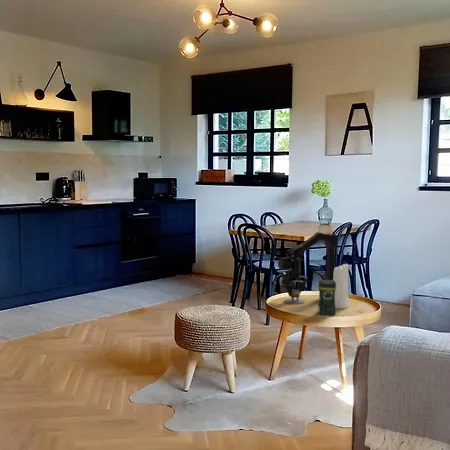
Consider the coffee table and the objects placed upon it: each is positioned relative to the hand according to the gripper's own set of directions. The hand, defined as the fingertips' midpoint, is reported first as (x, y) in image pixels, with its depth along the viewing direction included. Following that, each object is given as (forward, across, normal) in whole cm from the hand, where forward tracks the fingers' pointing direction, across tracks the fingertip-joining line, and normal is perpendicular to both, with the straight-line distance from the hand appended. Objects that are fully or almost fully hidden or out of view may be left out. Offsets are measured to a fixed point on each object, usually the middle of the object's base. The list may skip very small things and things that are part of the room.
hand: (294, 294), depth 330 cm
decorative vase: (+4, -11, +24) cm, 27 cm away
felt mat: (+4, 0, 0) cm, 4 cm away
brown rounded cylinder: (+4, 0, 0) cm, 4 cm away
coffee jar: (+4, +9, +29) cm, 31 cm away
